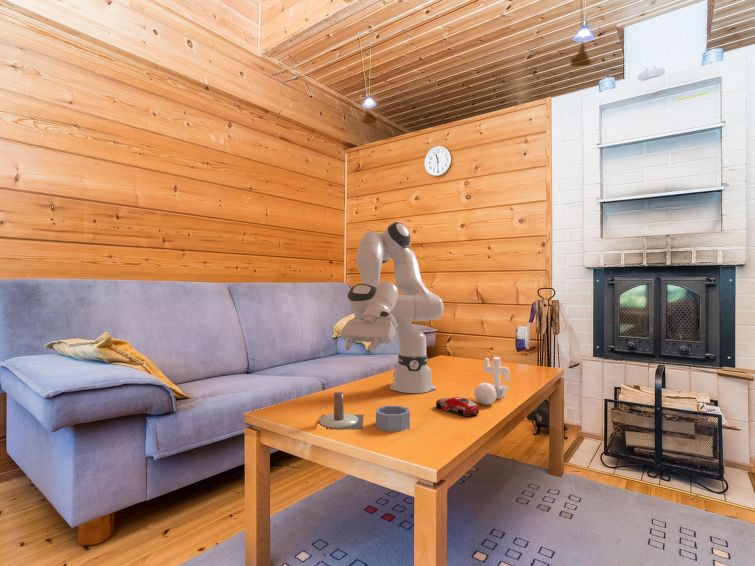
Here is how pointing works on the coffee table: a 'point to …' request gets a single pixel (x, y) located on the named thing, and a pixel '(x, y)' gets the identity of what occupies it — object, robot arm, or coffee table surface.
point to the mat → (358, 425)
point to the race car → (458, 406)
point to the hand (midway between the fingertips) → (358, 349)
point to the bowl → (392, 418)
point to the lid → (338, 415)
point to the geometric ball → (485, 393)
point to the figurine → (497, 375)
